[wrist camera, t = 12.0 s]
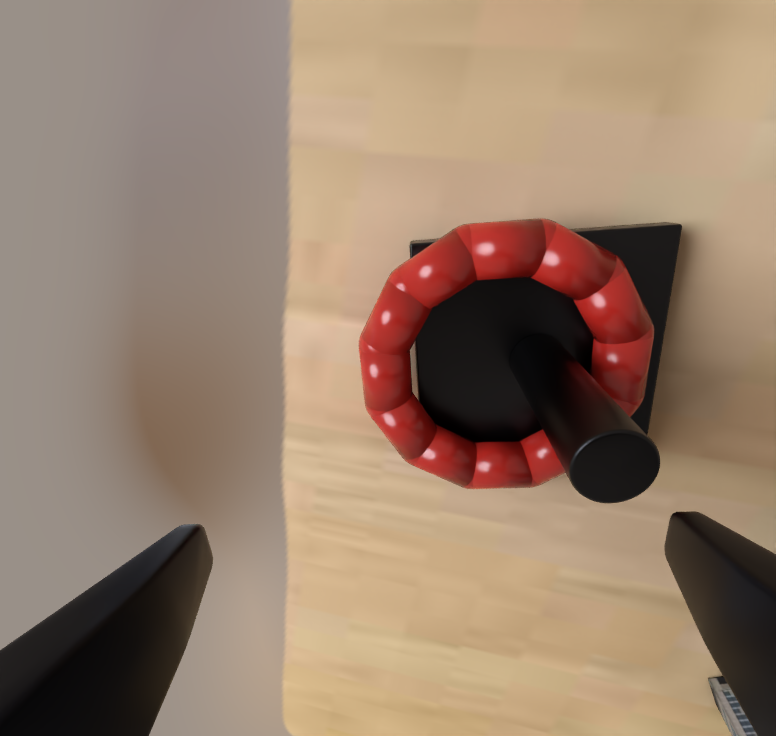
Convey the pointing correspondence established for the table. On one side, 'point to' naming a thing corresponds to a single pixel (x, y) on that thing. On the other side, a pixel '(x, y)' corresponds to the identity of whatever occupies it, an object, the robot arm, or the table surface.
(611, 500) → the peg
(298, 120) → the table surface
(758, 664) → the robot arm
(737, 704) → the building
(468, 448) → the ring
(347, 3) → the table surface
